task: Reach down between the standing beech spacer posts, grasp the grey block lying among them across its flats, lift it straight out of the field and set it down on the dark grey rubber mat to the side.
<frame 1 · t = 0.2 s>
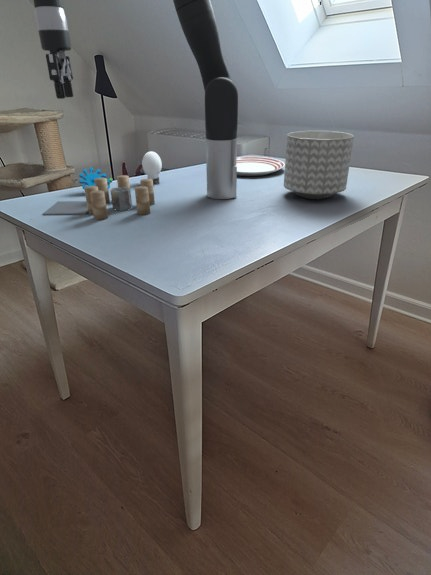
hand: (65, 97, 111), 29 cm above the table, fingers open, 8 cm apart
dinner plate: (250, 171, 157), on the table
grey block: (122, 208, 114), on the table
planter: (313, 196, 124), on the table
light bulb: (153, 184, 140), on the table
mat: (71, 208, 114), on the table
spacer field: (122, 207, 114), on the table
gear: (98, 193, 130), on the table
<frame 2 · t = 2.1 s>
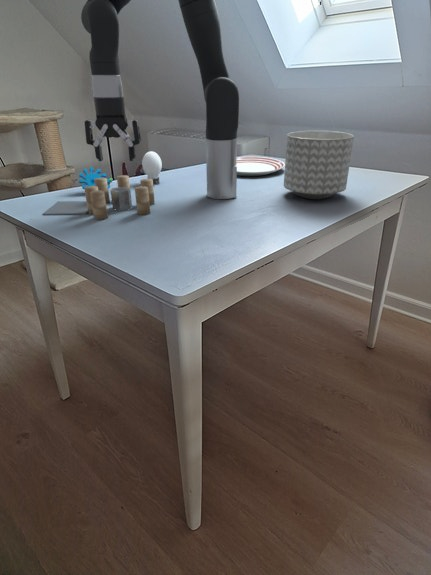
hand: (116, 160, 108), 13 cm above the table, fingers open, 8 cm apart
nothing on the table moved.
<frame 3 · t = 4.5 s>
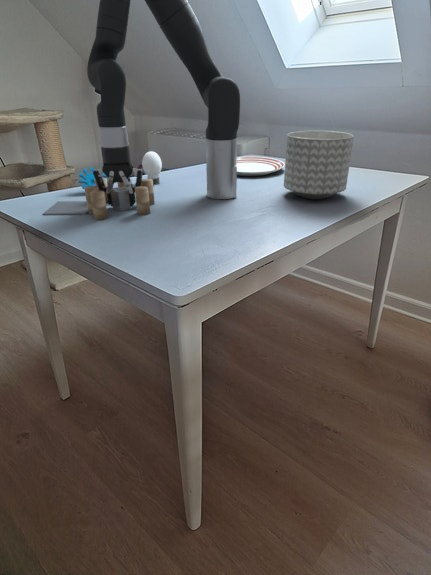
hand: (122, 205, 114), 1 cm above the table, fingers closed on grey block, 5 cm apart
grey block: (122, 207, 114), on the table, touching gripper
everything else where it was.
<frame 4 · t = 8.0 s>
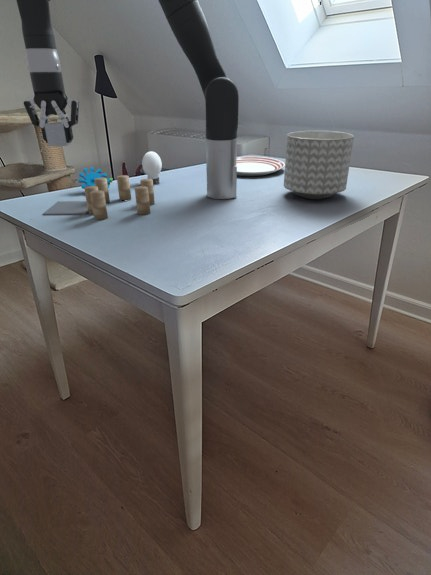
hand: (59, 142, 106), 18 cm above the table, fingers closed on grey block, 5 cm apart
grey block: (59, 145, 106), point 18 cm above the table, touching gripper
everything else where it was.
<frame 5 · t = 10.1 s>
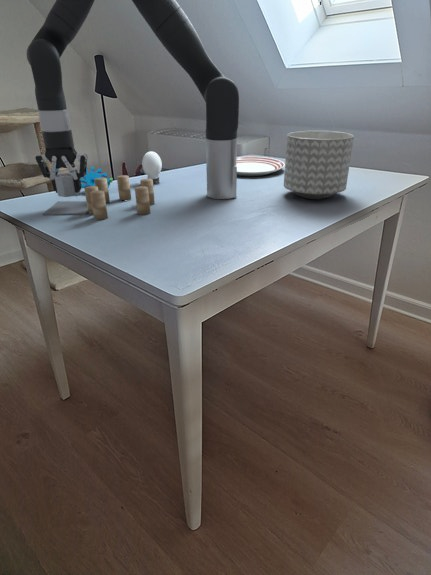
hand: (68, 191, 112), 5 cm above the table, fingers closed on grey block, 5 cm apart
grey block: (68, 194, 113), point 4 cm above the table, touching gripper
when the fingers open (2 cm above the table, at t = 11.7 s): grey block moves 1 cm, resting on mat.
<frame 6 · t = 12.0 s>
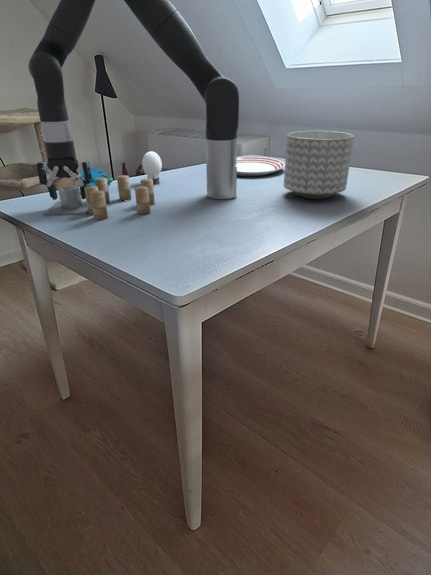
hand: (69, 198, 113), 3 cm above the table, fingers open, 8 cm apart
grey block: (72, 207, 114), resting on mat
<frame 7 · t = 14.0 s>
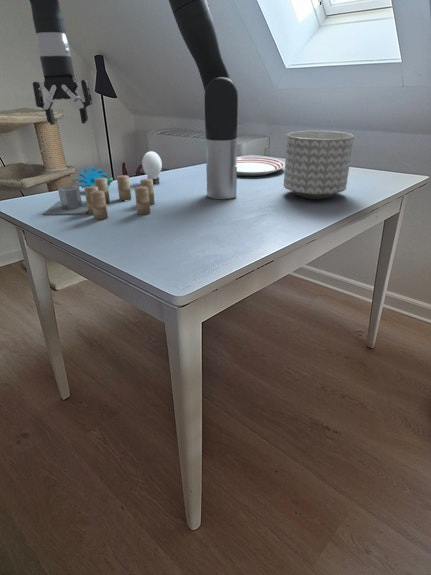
hand: (68, 123, 107), 22 cm above the table, fingers open, 8 cm apart
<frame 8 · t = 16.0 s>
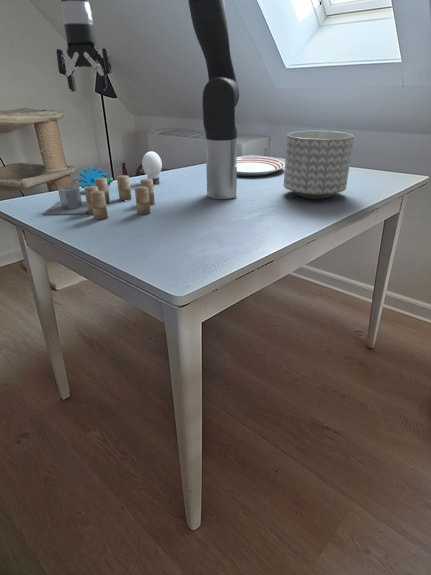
hand: (88, 91, 112), 30 cm above the table, fingers open, 8 cm apart
at the end: grey block 0.3 cm from the mat (horizontally); the gripper is holding nothing; grey block touching mat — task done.
